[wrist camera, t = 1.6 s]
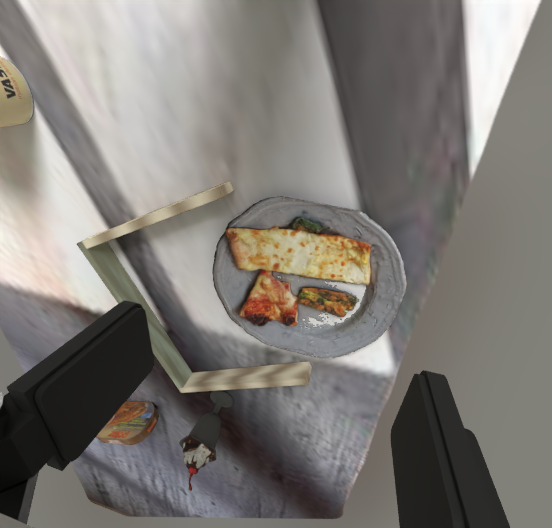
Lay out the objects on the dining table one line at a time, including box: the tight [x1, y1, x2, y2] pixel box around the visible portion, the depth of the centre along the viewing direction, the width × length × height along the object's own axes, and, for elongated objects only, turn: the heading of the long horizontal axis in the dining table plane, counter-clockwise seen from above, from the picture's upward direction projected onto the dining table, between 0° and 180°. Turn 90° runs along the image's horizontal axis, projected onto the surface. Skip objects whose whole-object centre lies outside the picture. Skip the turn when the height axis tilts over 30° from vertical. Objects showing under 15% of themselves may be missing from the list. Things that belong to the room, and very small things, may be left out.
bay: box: [77, 181, 312, 393], centre depth 44 cm, size 25×31×4 cm
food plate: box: [213, 196, 407, 358], centre depth 38 cm, size 25×23×4 cm
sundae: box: [180, 390, 233, 491], centre depth 50 cm, size 7×7×15 cm
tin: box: [96, 401, 159, 445], centre depth 62 cm, size 15×3×8 cm, turn 107°
